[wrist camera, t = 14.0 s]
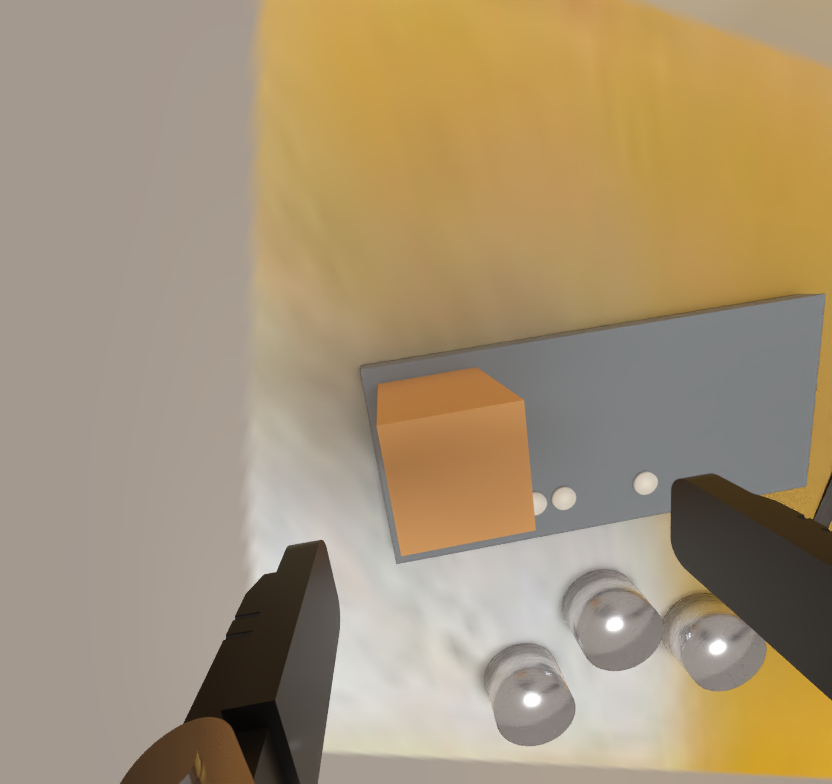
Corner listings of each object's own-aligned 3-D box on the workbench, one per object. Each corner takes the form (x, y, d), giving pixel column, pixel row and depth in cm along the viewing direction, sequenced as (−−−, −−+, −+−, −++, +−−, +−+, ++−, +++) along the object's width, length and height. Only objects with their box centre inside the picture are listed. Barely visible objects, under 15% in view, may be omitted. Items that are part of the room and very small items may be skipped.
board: (799, 294, 19) (830, 293, 18) (783, 476, 22) (810, 487, 20) (361, 365, 18) (359, 370, 17) (395, 549, 21) (396, 566, 19)
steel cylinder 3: (728, 585, 23) (769, 618, 21) (725, 644, 24) (763, 682, 22) (659, 599, 23) (691, 634, 21) (659, 658, 24) (689, 698, 22)
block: (476, 366, 18) (524, 400, 12) (487, 458, 19) (535, 530, 13) (377, 383, 17) (376, 426, 12) (394, 475, 18) (401, 556, 13)
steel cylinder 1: (553, 635, 23) (573, 674, 21) (557, 693, 24) (577, 736, 22) (480, 649, 23) (492, 691, 20) (488, 707, 24) (500, 753, 22)
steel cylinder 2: (631, 561, 22) (662, 593, 20) (634, 623, 23) (663, 660, 21) (557, 577, 22) (579, 611, 20) (564, 639, 23) (585, 678, 21)
